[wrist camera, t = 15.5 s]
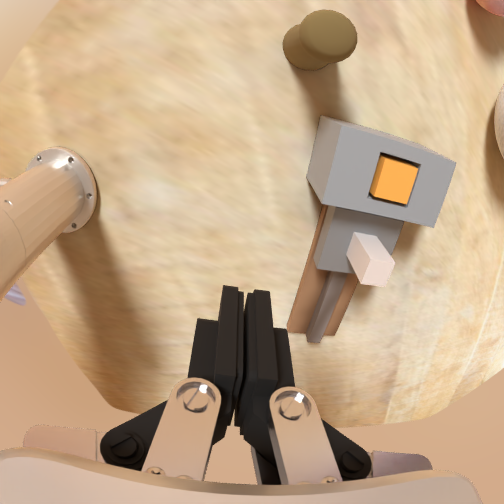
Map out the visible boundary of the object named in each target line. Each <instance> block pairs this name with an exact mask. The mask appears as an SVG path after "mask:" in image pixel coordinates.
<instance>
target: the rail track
mask: <svg viewBox="0 0 504 504" xmlns="http://www.w3.org/2000/svg"><path fill="white" fill-rule="evenodd" d="M328 206H329V205H326V204H323V206H322V210H321V214H320V217H319V221H318V224H317V228H316V231H315V235H314V238H313V242H312V245H311V249H310V252H309V255H308V259H307V262H306V265H305V269H304V272H303V275H302V279H301V282H300V285H299V288H298V291H297V295H296V298H295V301H294V304H293V307H292V310H291V314H290V317H289V320H288V323H287V331H288V332H297V333H306V337H307V342H313V343H320V341H321V339H322V336H323V335H335V333H336V331H337V329H338V327H339V325H340V322H341V320H342V318H343V316H344V313H345V311H346V309H347V306H348V304H349V302H350V299H351V297H352V295H353V292H354V290H355V287H356V285H357V283H358V280H359V279H358V277H357V275H356V274H352V273H344V272H337V271H329V270H322V269H317V268H316V265H315V262H314V259H313V257H314V254H315V251H316V247H317V244H318V241H319V237H320V234H321V231H322V227H323V224H324V220H325V217H326V213H327V210H328Z"/></svg>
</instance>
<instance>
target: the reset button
mask: <svg viewBox="0 0 504 504" xmlns="http://www.w3.org/2000/svg"><path fill="white" fill-rule="evenodd" d="M417 171H418V168H416V167H415V166H413V165H411V164H410V163H408V162H406V161H405V160H403V159H401V158H398V157H394V156H391V155H388V154H384V153H381V152H380V156H379V159H378V163H377V166H376V170H375V173H374V177H373V180H372V183H371V187H370V190H369V192H370V193H371V194H372V195H373V196H375V197H379V198H383V199H387V200H391V201H395V202H399V203H403V204H407V202H408V199H409V196H410V193H411V190H412V187H413V184H414V181H415V178H416V174H417Z"/></svg>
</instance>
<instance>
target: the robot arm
mask: <svg viewBox="0 0 504 504" xmlns="http://www.w3.org/2000/svg"><path fill="white" fill-rule="evenodd" d="M73 159H74V160H73ZM90 193H91V194H90ZM96 201H97V190H96V183H95V180H94V177H93V174H92V172H91V170H90V168H89V167H88V165H87V164H86V162H85V161H84V160H83V159H82V158H81V157H80V156H79V155H78V154H76V153H75V152H73V151H72V150H69V149H67V148H63V147H50V148H47V149H45V150H43V151H41V152H39V153H37V154H36V155H35V156H34V157H33V158H32V159H31V161H30V162H29V164H28V166H27V168H26V171H25V172H24V173H23V174H21V175H19V176H17V177H16V178H14V179H11V178H1V179H0V302H1V301H2V299H3V298H4V296H5V295H6V294H7V292H8V291H9V290H10V289H11V287H12V286H13V285H14V284H15V282H16V281H17V280H18V279H19V278H20V277H21V276H22V274H23V273H24V272H25V271H26V270H27V269H28V268H29V266H30V265H31V264H32V263H33V262H34V261H35V260H36V259H37V258H38V256H39V255H40V254H41V253H42V252H43V251H44V250H45V249H46V248H47V247H48V246H49V245H50V244H51V243H52V242H53V241H54V240H55V238H56V237H57V236H58V235H59V234H60V233H69V232H74V231H76V230H78V229H80V228H81V227H82V226H84V225H85V224H86V223H87V222H88V220H89V219H90V217H91V216H92V214H93V212H94V209H95V206H96ZM234 409H235V418H234V425H235V426H237V427H240V435H244V440H245V441H247V442H248V443H249V444H250V445H251V453H252V458H253V463H254V469H255V474H256V478H257V483H258V485H249V484H230V483H217V482H206V481H204V478H205V474H206V470H207V466H208V462H209V458H210V454H211V450H212V446H213V445H214V444H215V443H217V442H218V441H220V440H221V439H222V438H224V436H225V433H226V429H227V426H230V424H231V420H232V416H233V413H234ZM0 504H482V501H481V498H480V496H479V494H478V491H477V489H476V488H475V486H474V484H473V483H472V482H471V481H470V480H469V479H468V478H467V477H465V476H463V475H461V474H458V473H454V472H450V471H444V470H433V469H432V465H431V463H430V461H429V460H428V459H427V458H426V457H424V456H422V455H419V454H405V453H392V452H382V451H373V452H372V453H369V452H366V451H365V450H364V449H363V448H361V447H360V446H359V445H357V444H356V443H354V442H353V441H351V440H350V439H349V438H347V437H346V436H344V435H343V434H341V433H340V432H339V431H337V430H336V429H335V428H333V427H332V426H331V425H329V424H328V423H326V422H325V421H324V420H322V419H321V417H320V414H319V411H318V409H317V406H316V403H315V401H314V399H313V397H312V396H311V395H310V394H309V393H308V392H306V391H304V390H302V389H300V388H297V387H295V383H294V375H293V368H292V361H291V353H290V346H289V339H288V333H287V330H286V329H282V328H273V319H272V308H271V298H270V292H269V291H263V290H256V289H255V290H254V292H253V293H248V294H247V299H246V304H245V309H244V292H240V291H238V287H233V286H225V285H223V290H222V297H221V303H220V310H219V317H218V321H214V320H207V319H200V318H198V319H197V324H196V330H195V336H194V342H193V348H192V354H191V360H190V366H189V372H188V378H187V379H184V380H181V381H180V382H178V383H177V384H176V385H175V386H174V388H173V389H172V391H171V394H170V396H169V399H168V400H167V401H165V402H163V403H161V404H159V405H158V406H156V407H154V408H152V409H150V410H148V411H146V412H144V413H143V414H141V415H139V416H137V417H135V418H133V419H131V420H129V421H127V422H125V423H123V424H121V425H119V426H117V427H115V428H113V429H111V430H110V431H109V432H107V433H106V432H96V430H93V429H79V428H68V427H67V428H66V427H57V426H49V425H35V426H33V427H31V428H30V429H29V430H28V431H27V432H26V434H25V437H24V443H23V447H17V448H10V449H6V450H2V451H0Z"/></svg>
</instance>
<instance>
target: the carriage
mask: <svg viewBox="0 0 504 504" xmlns="http://www.w3.org/2000/svg"><path fill="white" fill-rule="evenodd" d="M403 224H404V221H403V220H398V219H394V218H389V217H385V216H380V215H375V214H371V213H366V212H361V211H356V210H351V209H346V208H341V207H336V206H331V205H329V206H328V210H327V213H326V217H325V220H324V224H323V227H322V231H321V234H320V237H319V241H318V244H317V247H316V251H315V254H314V257H313V259H314V262H315V265H316V268H317V269H322V270H329V271H337V272H344V273H352V274H356V275H357V277H358V279H359V281H360V283H361V284H366V285H374V286H382V287H385V286H386V284H387V282H388V279H389V277H390V275H391V273H392V270H393V268H394V266H395V262H394V260H393V259H392V257H391V255H392V252H393V250H394V247H395V245H396V242H397V239H398V237H399V234H400V232H401V229H402V226H403Z"/></svg>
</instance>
